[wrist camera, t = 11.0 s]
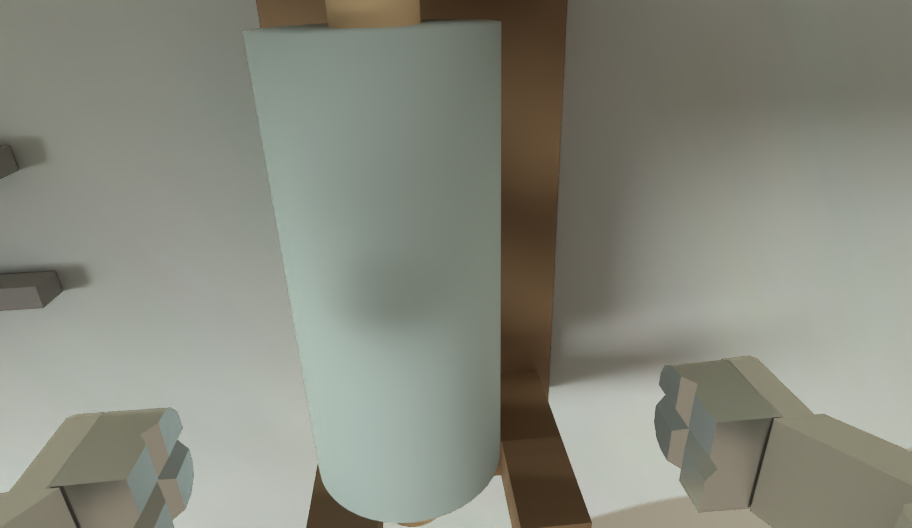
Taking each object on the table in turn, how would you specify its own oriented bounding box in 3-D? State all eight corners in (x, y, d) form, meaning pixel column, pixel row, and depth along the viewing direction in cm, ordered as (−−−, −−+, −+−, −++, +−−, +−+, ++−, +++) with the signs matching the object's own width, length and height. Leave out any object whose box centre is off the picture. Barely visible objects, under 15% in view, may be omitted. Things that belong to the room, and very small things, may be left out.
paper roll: (394, -73, 15) (179, -84, 12) (559, -101, 11) (308, -130, 8) (427, 420, 22) (296, 497, 19) (535, 503, 18) (396, 619, 15)
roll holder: (543, 388, 24) (604, 558, 17) (325, 405, 23) (291, 588, 16) (564, -85, 17) (687, -147, 10) (249, -78, 16) (127, -137, 9)
